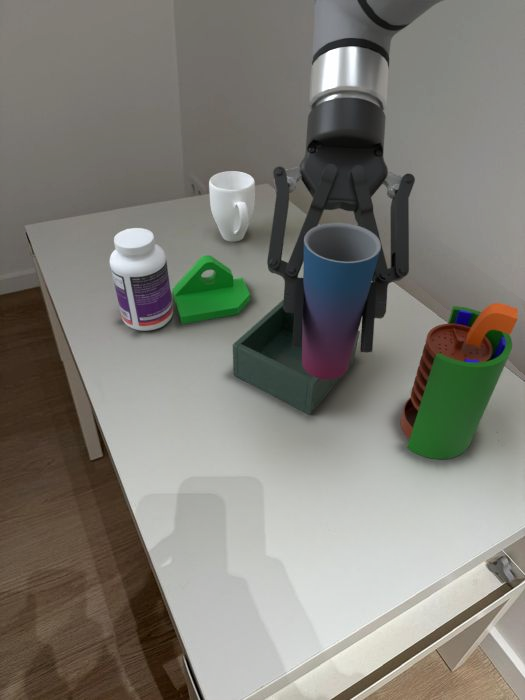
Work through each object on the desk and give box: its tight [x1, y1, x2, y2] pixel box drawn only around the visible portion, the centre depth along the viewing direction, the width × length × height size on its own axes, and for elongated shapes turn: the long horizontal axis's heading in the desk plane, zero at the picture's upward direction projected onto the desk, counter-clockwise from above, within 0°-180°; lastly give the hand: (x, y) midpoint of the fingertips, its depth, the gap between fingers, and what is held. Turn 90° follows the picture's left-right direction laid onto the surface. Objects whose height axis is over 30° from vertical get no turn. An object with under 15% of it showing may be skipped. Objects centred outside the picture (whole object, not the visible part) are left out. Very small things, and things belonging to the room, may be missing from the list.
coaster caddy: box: [400, 302, 519, 460], centre depth 60 cm, size 10×9×20 cm
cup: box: [302, 222, 382, 380], centre depth 51 cm, size 7×7×15 cm
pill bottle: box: [109, 227, 174, 332], centre depth 77 cm, size 8×8×14 cm
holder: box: [232, 298, 361, 416], centre depth 72 cm, size 13×13×6 cm
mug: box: [208, 170, 256, 242], centre depth 96 cm, size 12×8×11 cm
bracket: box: [171, 254, 251, 325], centre depth 82 cm, size 12×8×7 cm, turn 107°
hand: (331, 349), depth 49 cm, fingers closed on cup, 6 cm apart
